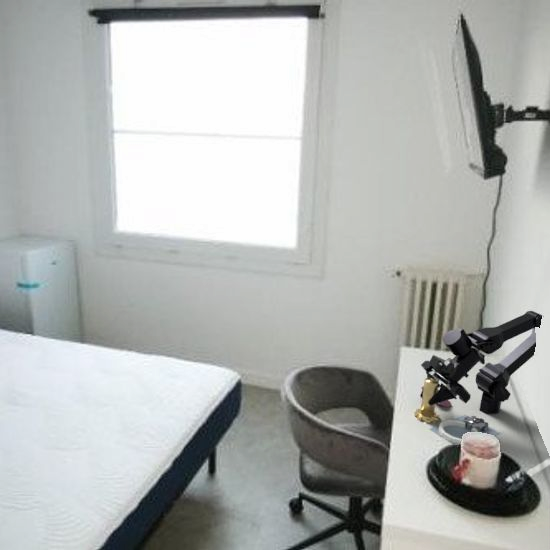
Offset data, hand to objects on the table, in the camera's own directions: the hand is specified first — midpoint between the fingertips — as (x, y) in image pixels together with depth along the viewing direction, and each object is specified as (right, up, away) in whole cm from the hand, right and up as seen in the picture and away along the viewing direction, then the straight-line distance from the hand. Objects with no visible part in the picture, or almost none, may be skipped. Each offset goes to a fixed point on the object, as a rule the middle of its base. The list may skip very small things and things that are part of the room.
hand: (424, 400), depth 153 cm
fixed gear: (+14, -7, -2) cm, 16 cm away
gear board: (+10, -9, -5) cm, 14 cm away
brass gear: (+1, -6, +2) cm, 7 cm away
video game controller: (+7, -4, +13) cm, 15 cm away
